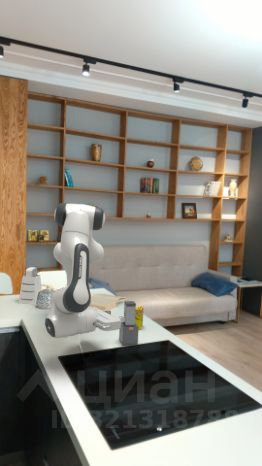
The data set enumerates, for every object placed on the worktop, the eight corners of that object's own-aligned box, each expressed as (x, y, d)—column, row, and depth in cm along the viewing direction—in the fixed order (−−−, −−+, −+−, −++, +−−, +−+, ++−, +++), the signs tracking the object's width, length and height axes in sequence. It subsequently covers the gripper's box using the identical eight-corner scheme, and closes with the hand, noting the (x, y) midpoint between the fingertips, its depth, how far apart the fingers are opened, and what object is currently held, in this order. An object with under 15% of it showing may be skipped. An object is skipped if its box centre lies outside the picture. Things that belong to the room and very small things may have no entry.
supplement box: (140, 332, 166) (141, 309, 165) (128, 331, 167) (129, 308, 166) (142, 328, 171) (144, 306, 171) (130, 327, 173) (131, 305, 172)
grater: (18, 303, 203) (19, 268, 201) (26, 298, 213) (27, 266, 212) (35, 305, 201) (36, 270, 200) (42, 300, 212) (44, 267, 210)
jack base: (109, 340, 154) (110, 320, 153) (140, 339, 157) (141, 319, 157) (114, 351, 142) (115, 329, 142) (147, 350, 146) (149, 328, 145)
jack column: (122, 340, 151) (124, 301, 150) (131, 340, 152) (133, 301, 151) (124, 344, 147) (126, 303, 146) (134, 344, 148) (136, 303, 147)
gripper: (102, 320, 128) (132, 314, 136) (75, 306, 144) (103, 301, 152) (101, 337, 128) (131, 330, 137) (74, 321, 144) (102, 316, 153)
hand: (116, 315), depth 145 cm, fingers open, 8 cm apart
